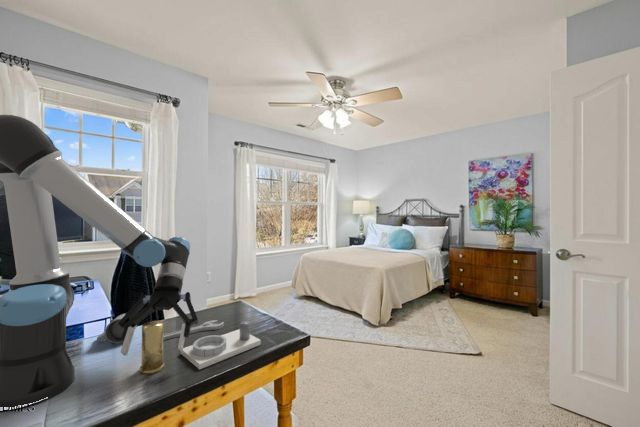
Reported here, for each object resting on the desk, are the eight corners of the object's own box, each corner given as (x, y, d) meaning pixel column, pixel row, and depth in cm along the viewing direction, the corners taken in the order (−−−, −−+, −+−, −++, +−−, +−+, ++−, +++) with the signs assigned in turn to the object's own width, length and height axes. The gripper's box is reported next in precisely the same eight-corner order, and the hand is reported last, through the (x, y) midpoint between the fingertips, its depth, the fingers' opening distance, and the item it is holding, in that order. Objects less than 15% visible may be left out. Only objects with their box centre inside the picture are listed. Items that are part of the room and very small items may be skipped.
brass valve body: (135, 375, 74) (136, 329, 73) (144, 363, 79) (145, 320, 79) (160, 373, 75) (161, 327, 75) (167, 361, 81) (168, 319, 80)
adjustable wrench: (144, 346, 90) (144, 341, 90) (143, 339, 95) (143, 333, 95) (224, 328, 104) (225, 323, 104) (219, 322, 110) (219, 318, 110)
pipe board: (199, 369, 77) (199, 345, 77) (180, 353, 85) (181, 332, 85) (260, 344, 92) (261, 324, 92) (239, 333, 100) (240, 314, 100)
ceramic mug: (138, 331, 100) (138, 309, 100) (132, 341, 92) (132, 317, 92) (102, 336, 96) (102, 313, 96) (92, 347, 88) (92, 322, 88)
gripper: (213, 285, 96) (204, 352, 81) (129, 288, 90) (104, 360, 76) (210, 273, 90) (200, 342, 76) (121, 275, 85) (93, 350, 71)
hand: (152, 351), depth 76 cm, fingers open, 13 cm apart
